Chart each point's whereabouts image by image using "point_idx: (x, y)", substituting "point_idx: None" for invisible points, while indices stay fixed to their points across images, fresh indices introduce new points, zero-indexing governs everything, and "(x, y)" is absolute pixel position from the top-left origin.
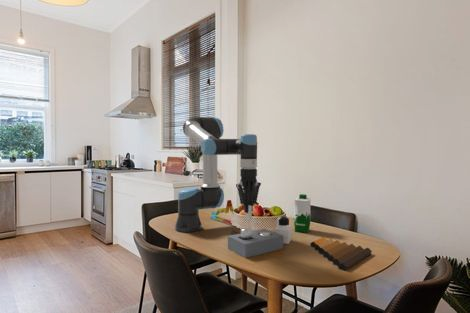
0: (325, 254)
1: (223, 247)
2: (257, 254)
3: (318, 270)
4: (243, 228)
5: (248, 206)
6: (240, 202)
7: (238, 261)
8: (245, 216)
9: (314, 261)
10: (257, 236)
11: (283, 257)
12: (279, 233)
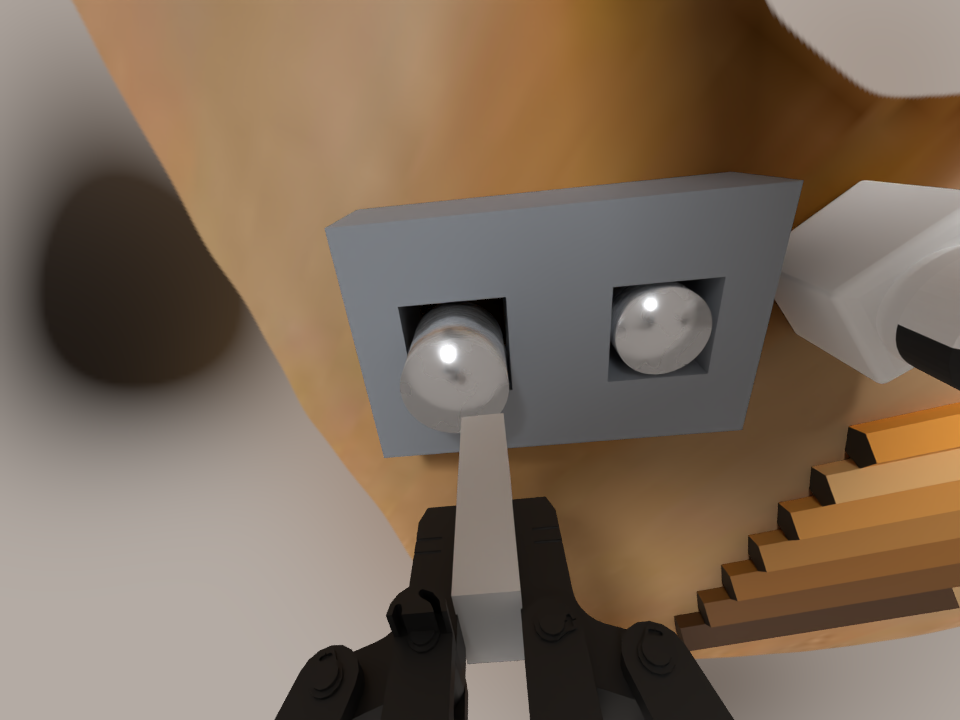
0: (756, 553)
1: (333, 162)
2: None
3: (602, 600)
4: (442, 359)
5: (465, 643)
6: (288, 698)
7: (346, 423)
8: (460, 438)
9: (665, 551)
10: (560, 362)
11: (586, 474)
12: (819, 314)
